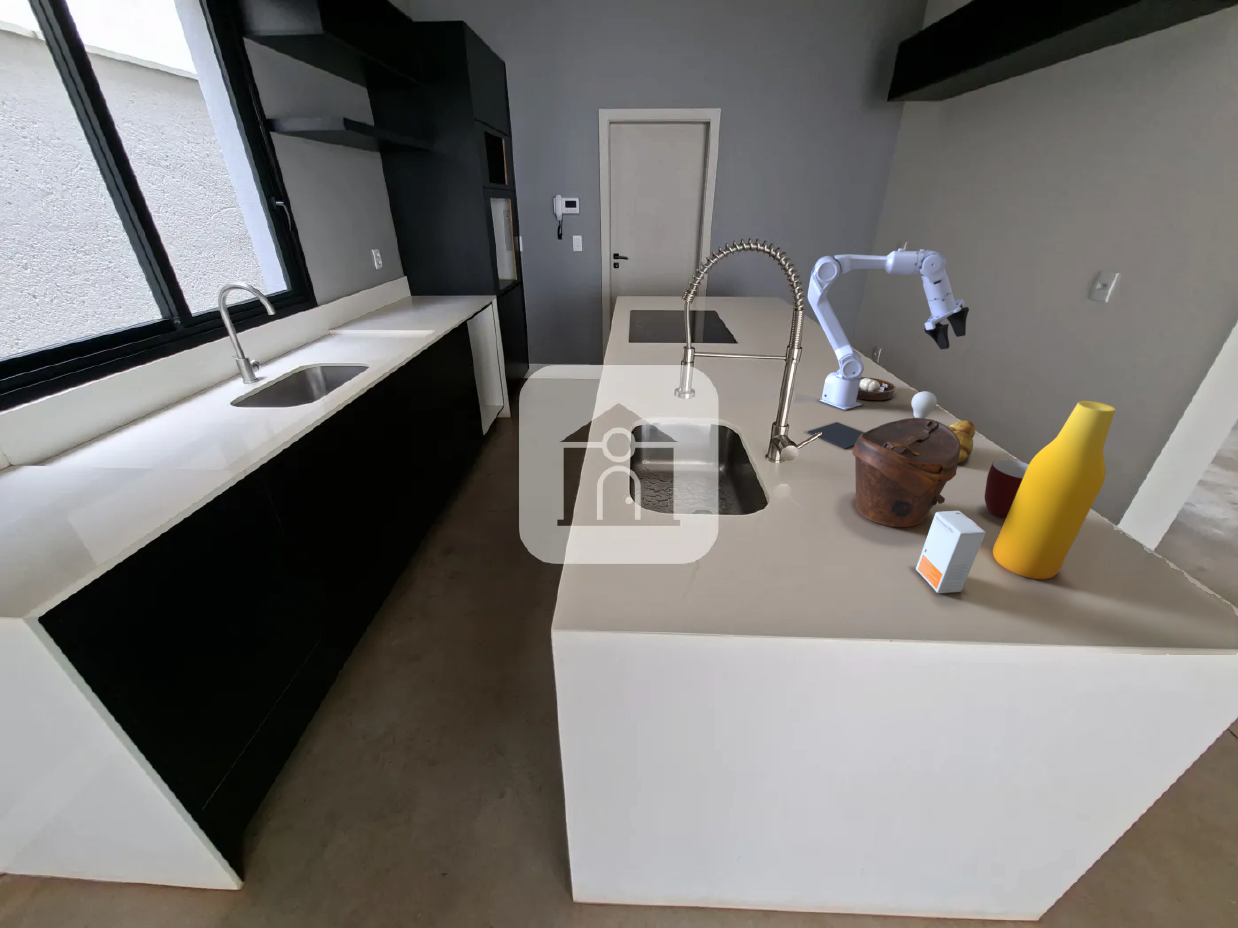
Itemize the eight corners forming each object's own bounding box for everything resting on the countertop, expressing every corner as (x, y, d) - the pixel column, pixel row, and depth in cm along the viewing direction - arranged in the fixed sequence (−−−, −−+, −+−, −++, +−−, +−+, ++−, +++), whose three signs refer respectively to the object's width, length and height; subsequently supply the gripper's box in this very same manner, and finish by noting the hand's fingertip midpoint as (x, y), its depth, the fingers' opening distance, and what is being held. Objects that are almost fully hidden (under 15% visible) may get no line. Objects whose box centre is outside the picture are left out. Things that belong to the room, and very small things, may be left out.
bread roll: (970, 470, 115) (982, 439, 111) (923, 461, 119) (932, 431, 115) (967, 448, 125) (977, 419, 121) (923, 441, 129) (931, 412, 125)
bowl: (832, 390, 163) (833, 382, 162) (861, 382, 170) (863, 374, 169) (873, 405, 152) (875, 395, 150) (903, 395, 159) (906, 386, 157)
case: (840, 529, 95) (860, 445, 87) (840, 480, 111) (857, 406, 103) (946, 549, 89) (979, 461, 81) (930, 495, 105) (956, 417, 97)
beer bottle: (1040, 550, 89) (1113, 397, 75) (1068, 584, 81) (1157, 420, 67) (982, 543, 91) (1043, 393, 77) (1004, 576, 83) (1077, 415, 69)
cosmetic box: (914, 569, 84) (934, 511, 79) (937, 568, 85) (959, 509, 79) (937, 594, 79) (960, 533, 73) (962, 592, 79) (987, 531, 74)
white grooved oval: (854, 390, 162) (857, 377, 160) (862, 387, 164) (865, 375, 162) (872, 396, 157) (875, 383, 155) (881, 393, 159) (884, 381, 157)
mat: (807, 432, 134) (807, 431, 134) (836, 423, 140) (837, 422, 140) (845, 449, 125) (845, 447, 125) (875, 438, 131) (875, 437, 130)
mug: (1039, 513, 99) (1059, 470, 94) (1040, 533, 93) (1061, 487, 88) (976, 497, 104) (993, 455, 100) (973, 515, 99) (990, 471, 94)
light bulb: (923, 422, 140) (933, 388, 135) (933, 430, 135) (943, 396, 130) (901, 421, 140) (910, 388, 136) (910, 430, 135) (920, 395, 130)
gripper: (938, 304, 127) (952, 352, 130) (970, 280, 131) (983, 328, 135) (912, 310, 133) (926, 355, 137) (944, 287, 137) (956, 332, 141)
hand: (953, 342), depth 136 cm, fingers open, 7 cm apart
